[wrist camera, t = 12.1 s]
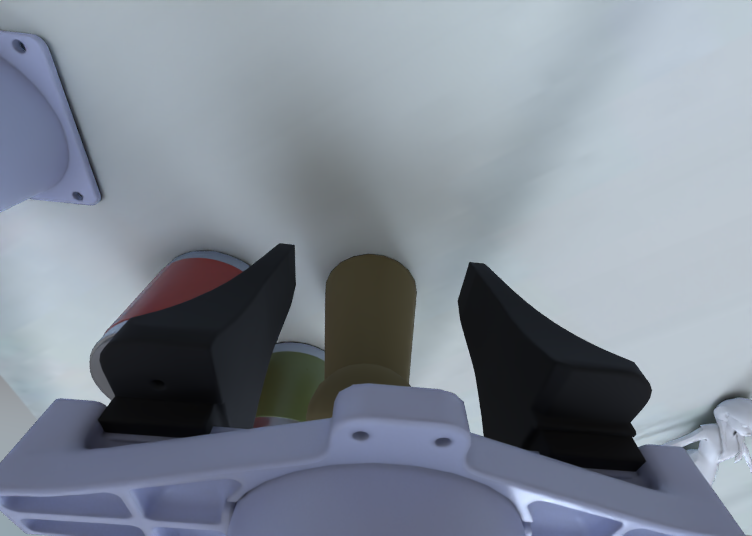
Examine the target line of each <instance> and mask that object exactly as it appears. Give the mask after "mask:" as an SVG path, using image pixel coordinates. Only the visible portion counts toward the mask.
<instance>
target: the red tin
mask: <svg viewBox="0 0 752 536" xmlns="http://www.w3.org/2000/svg"><path fill="white" fill-rule="evenodd" d="M249 267H250V266H249V265H248V264H246V263H245V262H243V261H241V260H239V259H237V258H235V257H233V256H230V255H227V254H224V253H220V252H214V251H194V252H189V253H185V254H182V255H180V256H178V257H176V258H175V259H173V260H172V261H171V262H170V263H169V264H168V265H167V266H166V267H164V268H163V269H162V270H161V271H160V272H159V273H158V274H157V276H156V277H155V278H154V279H153V280H152V281H151V282H150V283H149V284H148V286H147V287H146V288H145V289H144V290H143V291H142V292H141V293H140V294H139V295H138V297H137V298H136V299H135V300H134V301H133V302H132V303H131V304H130V305H129V306H128V308H127V309H126V310H125V311H124V312H123V313H122V314H121V315H120V316H119V317H118V319H117V320H116V321H115V322H114V323H113V324H112V325H111V326H110V327H109V328H108V330H107V331H106V332H105V334H104V335H103V337H102V338H101V339H100V340H99V341H98V342H97V343H96V345H95V346H94V348H93V349H92V352H91V355H90V372H91V375H92V378H93V380H94V382H95V383H96V385H97V386H98V388H99V389H100V390H101V391H102V392H103V393H104V394H105V395H106V396H107V397H108V398H109V399H110V400H113V398H114V397H115V395H114V393H113V391H112V389H111V387H110V385H109V383H108V381H107V379H106V377H105V375H104V373H103V371H102V368H101V365H100V362H99V358H100V353H101V351H102V350H103V349H104V347H105V346H106V345H107V344H108V343H109V341H110V340H111V339H112V338H113V337H114V335H115V334H116V333H117V332H118V331H119V330H120V328H121V327H122V326H123V325H124V324H125V323H126V322H127V321H128V320H129V319H130V318H132V317H136V316H140V315H144V314H148V313H151V312H155V311H159V310H162V309H165V308H168V307H171V306H174V305H177V304H180V303H183V302H185V301H188V300H191V299H193V298H195V297H197V296H200V295H202V294H204V293H206V292H209V291H211V290H213V289H215V288H217V287H219V286H220V285H222V284H224V283H226V282H228V281H229V280H231V279H233V278H234V277H236V276H237V275H239V274H240V273H242V272H243V271H244V270H246V269H247V268H249Z"/></svg>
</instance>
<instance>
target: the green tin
mask: <svg viewBox="0 0 752 536" xmlns="http://www.w3.org/2000/svg"><path fill="white" fill-rule="evenodd" d="M324 373H325V351H323V350H321V349H319V348H317V347H314V346H311V345H307V344H302V343H290V342H288V343H279V344H275V347H274V349H273V352H272V355H271V358H270V362H269V365H268V369H267V373H266V376H265V380H264V384H263V388H262V392H261V396H260V400H259V404H258V408H257V413H256V417H255V421H254V425H253V428H259V427H267V426H274V425H282V424H289V423H297V422H304V421H306V414H307V409H308V405H309V402H310V400H311V398H312V396H313V394H314V393H315V391H316V389H317V388H318V386H319V384H320V383H321V382H322V381H324Z"/></svg>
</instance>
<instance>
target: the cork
mask: <svg viewBox="0 0 752 536" xmlns="http://www.w3.org/2000/svg"><path fill="white" fill-rule="evenodd" d="M416 294H417V291H416V285H415V280H414V279H413V277H412V275H411V274H410V272H409V270H408V269H406V268H405V267H404V266H403V265H402V264H400V263H399V262H398V261H395V260H393V259H391V258H388V257H386V256H381V255H372V254H366V255H360V256H354V257H352V258H349V259H347V260H345V261H343V262H341V263H340V264H339V265H338V266H337V267H335V268H334V269H333V270H332V271H331V273H330V275H329V277H328V279H327V281H326V292H325V373H324V381H322V382H321V383H320V384H319V386H318V388H317V389H316V391H315V393H314V394H313V396H312V398H311V400H310V402H309V405H308V409H307V414H306V421H312V420H319V419H327V418H332V415H333V407H334V401H335V399H336V397H337V395H338V393H339V392H340V391H342V390H344V389H346V388H348V387H350V386H352V385H354V384H366V383H371V384H383V385H395V386H407V387H411V386H410V385H409V375H410V363H411V352H412V340H413V329H414V317H415V306H416Z"/></svg>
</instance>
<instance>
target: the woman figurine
mask: <svg viewBox="0 0 752 536" xmlns="http://www.w3.org/2000/svg"><path fill="white" fill-rule="evenodd" d="M714 415H715V418H716V421H717V423H710V424H704V425H699V426H700V428H698V429H696V430H695V431H693V432H691V433H690V434H687V435H685V436H683V437H680V438H678V439H675V440H672V441H669V442H666V443H665V444H663V445H666V446H678V447H683V446H686V445H688V444H690V443H693V442H696V441H699V440H700V443H699V447H698V449H689V450H686V452H687V453H688V455H689V456H690V457H691V459H692V460H693V462H694V463H695V465H696V466H697V467H698V469H699V470H700V472H701V473H702V474H703V476H704V477H705V479H706V480H707V482H708V483H709V484H710V486H711V487H712V484H713V482H714V479H715V477H716V474H717V471H718V468H719V463H720V462H722V461H725V460H727V459H730V458H732V457H734V456H736V455H737V454H738V453H739V451H740V453H739V454H738V455H737V456H736V458H735V461H734V463H737V462H739V461H740V460H742V455H743V456H744V458H745V460H746V462H747V463H748V464H747V466H749V468H750V471H751V473H752V460H751V457H750V455H749V451H748V448H747V446H746V444H745V442H744V438H745V436H752V400H750V399H747V398H743V397H738V398H734V399H729V400H725V401H723V402H722V403H720V404H719V405H718V406H717V407H716V409H715V410H714Z"/></svg>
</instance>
